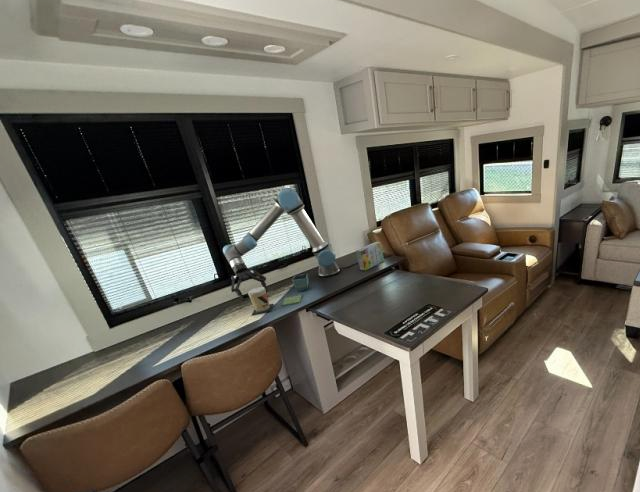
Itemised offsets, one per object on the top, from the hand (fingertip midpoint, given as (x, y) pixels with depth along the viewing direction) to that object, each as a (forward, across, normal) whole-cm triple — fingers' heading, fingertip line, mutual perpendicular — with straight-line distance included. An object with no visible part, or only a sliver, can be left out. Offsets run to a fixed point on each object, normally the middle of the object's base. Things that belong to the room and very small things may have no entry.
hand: (255, 294), depth 185 cm
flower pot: (+6, -29, -5) cm, 30 cm away
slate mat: (+10, 0, -1) cm, 11 cm away
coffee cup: (+10, 0, 0) cm, 10 cm away
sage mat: (+14, -16, +2) cm, 21 cm away
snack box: (+10, -81, -1) cm, 82 cm away
